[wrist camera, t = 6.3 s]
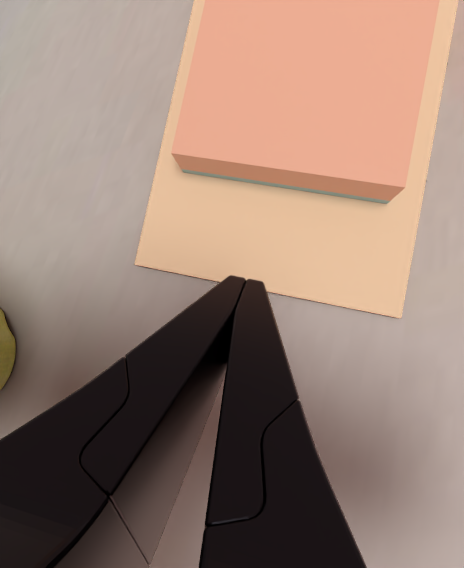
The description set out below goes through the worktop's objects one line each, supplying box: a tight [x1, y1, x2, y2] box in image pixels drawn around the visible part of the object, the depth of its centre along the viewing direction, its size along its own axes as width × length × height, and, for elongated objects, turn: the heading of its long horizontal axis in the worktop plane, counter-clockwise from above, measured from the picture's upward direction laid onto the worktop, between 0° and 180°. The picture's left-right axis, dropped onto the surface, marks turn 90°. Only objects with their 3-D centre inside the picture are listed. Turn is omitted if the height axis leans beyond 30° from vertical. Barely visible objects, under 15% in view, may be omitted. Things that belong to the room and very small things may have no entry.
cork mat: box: [134, 0, 458, 318], centre depth 16 cm, size 16×13×1 cm
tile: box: [171, 0, 440, 204], centre depth 15 cm, size 2×10×10 cm
